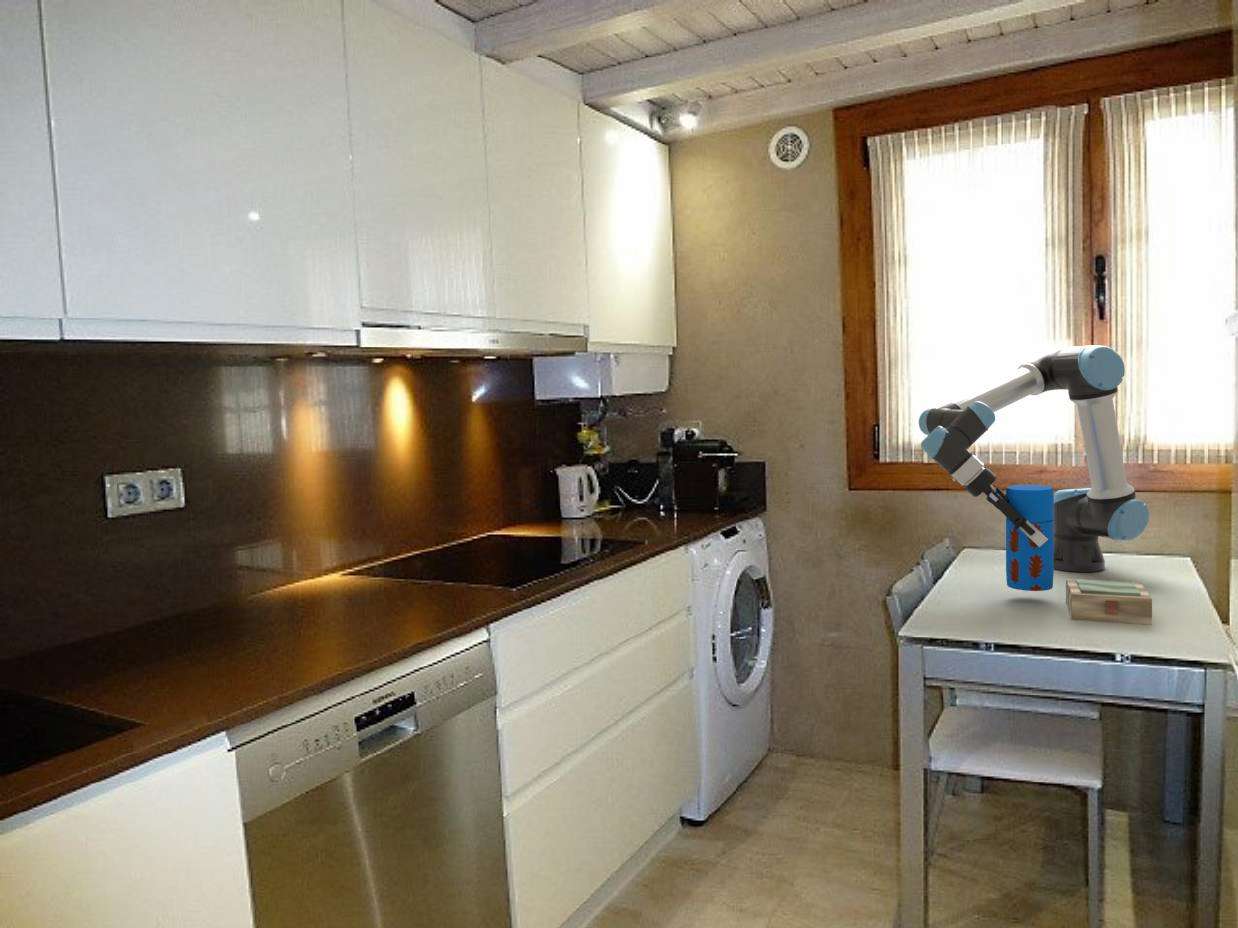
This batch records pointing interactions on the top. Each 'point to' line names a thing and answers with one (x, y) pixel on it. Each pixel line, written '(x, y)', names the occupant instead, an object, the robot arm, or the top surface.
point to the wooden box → (1108, 601)
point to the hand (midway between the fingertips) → (1042, 538)
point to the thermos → (1024, 556)
